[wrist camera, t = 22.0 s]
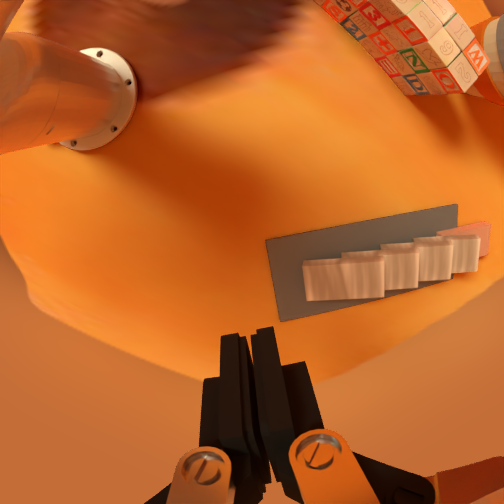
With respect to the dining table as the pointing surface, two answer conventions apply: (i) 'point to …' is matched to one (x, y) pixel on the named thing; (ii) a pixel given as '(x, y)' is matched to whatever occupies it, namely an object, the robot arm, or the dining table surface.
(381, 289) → the cream domino
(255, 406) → the robot arm
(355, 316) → the dining table surface
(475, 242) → the cream domino
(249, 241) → the dining table surface
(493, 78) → the reusable coffee cup
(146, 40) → the dining table surface
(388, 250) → the cream domino
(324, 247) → the slate mat
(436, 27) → the stack of blocks
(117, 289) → the dining table surface
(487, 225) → the terracotta domino
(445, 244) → the cream domino
